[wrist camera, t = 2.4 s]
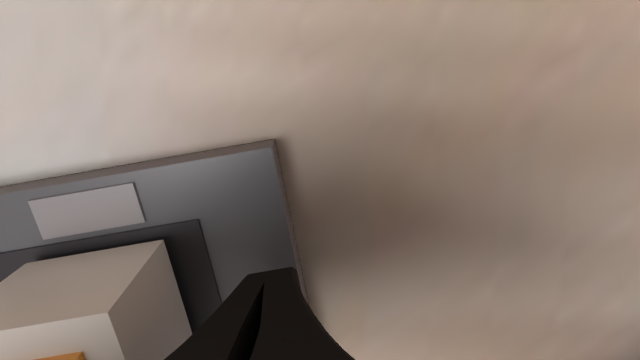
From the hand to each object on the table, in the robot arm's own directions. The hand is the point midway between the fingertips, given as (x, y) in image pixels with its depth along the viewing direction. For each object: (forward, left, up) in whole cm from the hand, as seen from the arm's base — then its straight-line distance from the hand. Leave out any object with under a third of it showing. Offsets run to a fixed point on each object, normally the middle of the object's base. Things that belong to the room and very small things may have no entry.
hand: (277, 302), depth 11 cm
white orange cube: (+5, 0, -1) cm, 5 cm away
